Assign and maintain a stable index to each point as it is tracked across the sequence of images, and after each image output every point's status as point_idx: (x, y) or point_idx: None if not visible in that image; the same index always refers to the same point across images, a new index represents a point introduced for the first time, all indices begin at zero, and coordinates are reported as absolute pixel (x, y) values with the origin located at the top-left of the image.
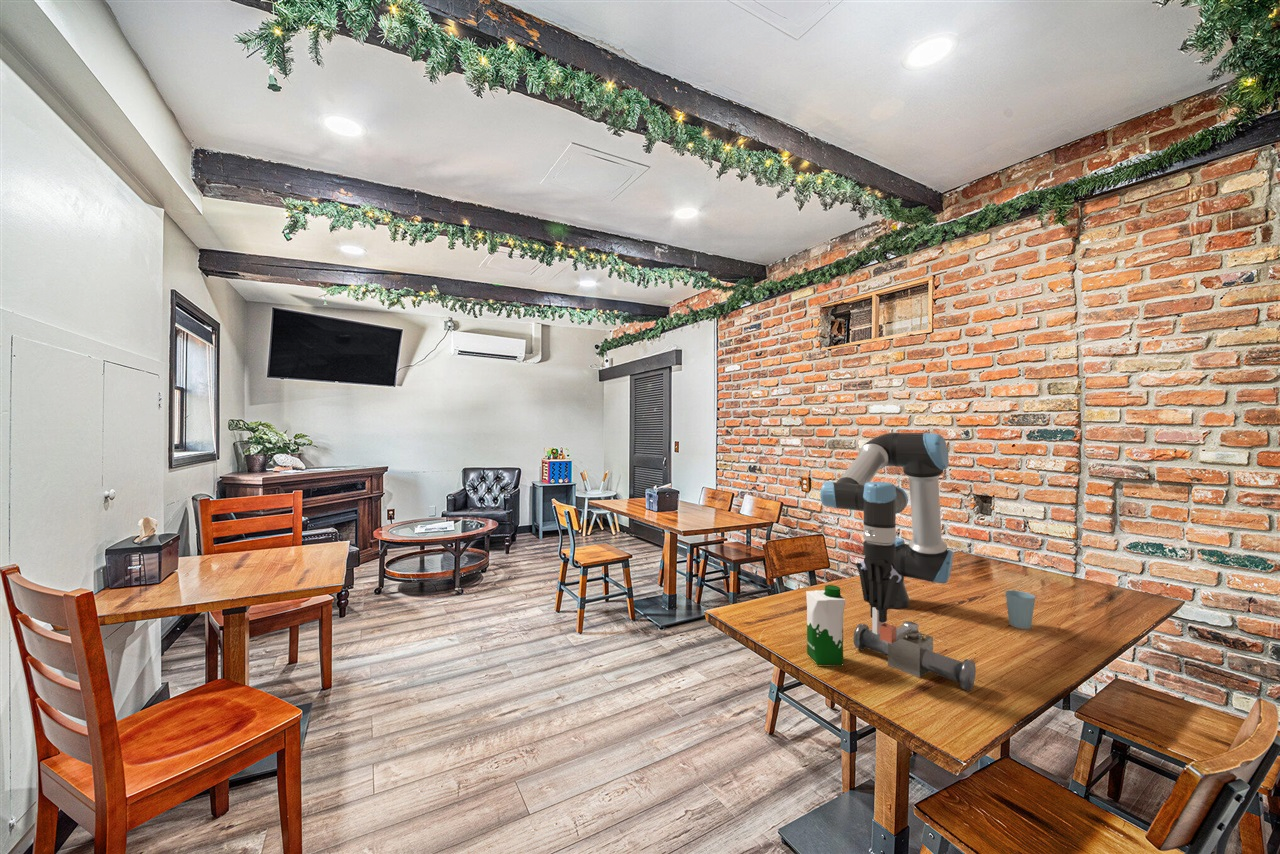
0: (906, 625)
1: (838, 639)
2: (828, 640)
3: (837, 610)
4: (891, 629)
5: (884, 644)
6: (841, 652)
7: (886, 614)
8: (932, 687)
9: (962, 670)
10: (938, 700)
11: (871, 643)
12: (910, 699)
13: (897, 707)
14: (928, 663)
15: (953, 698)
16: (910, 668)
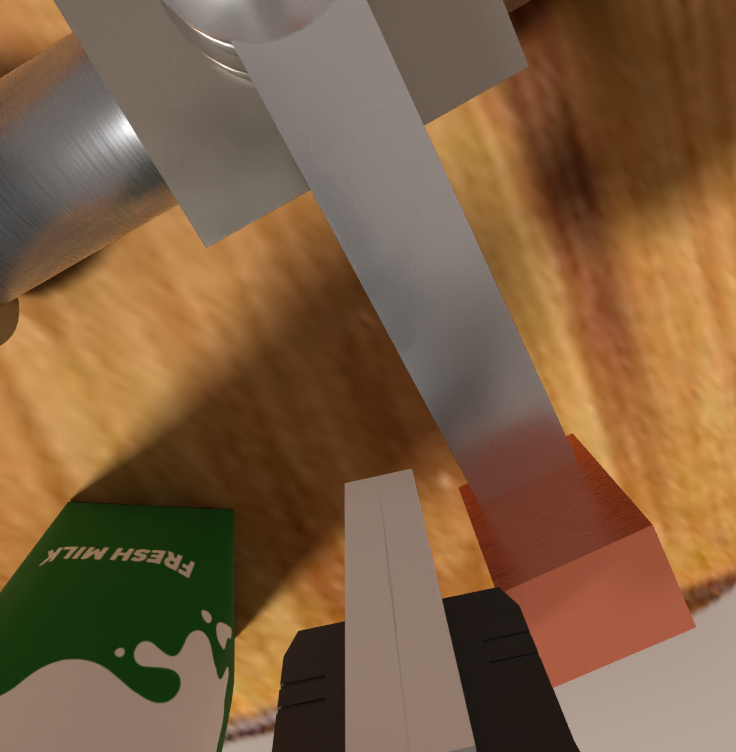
0: (287, 35)
1: (219, 687)
2: (222, 747)
3: None
4: (688, 622)
5: (149, 206)
6: (227, 582)
7: (553, 691)
8: (581, 109)
9: None
10: (712, 197)
11: (66, 266)
12: (650, 360)
13: (687, 476)
14: (507, 11)
15: (729, 70)
16: None
